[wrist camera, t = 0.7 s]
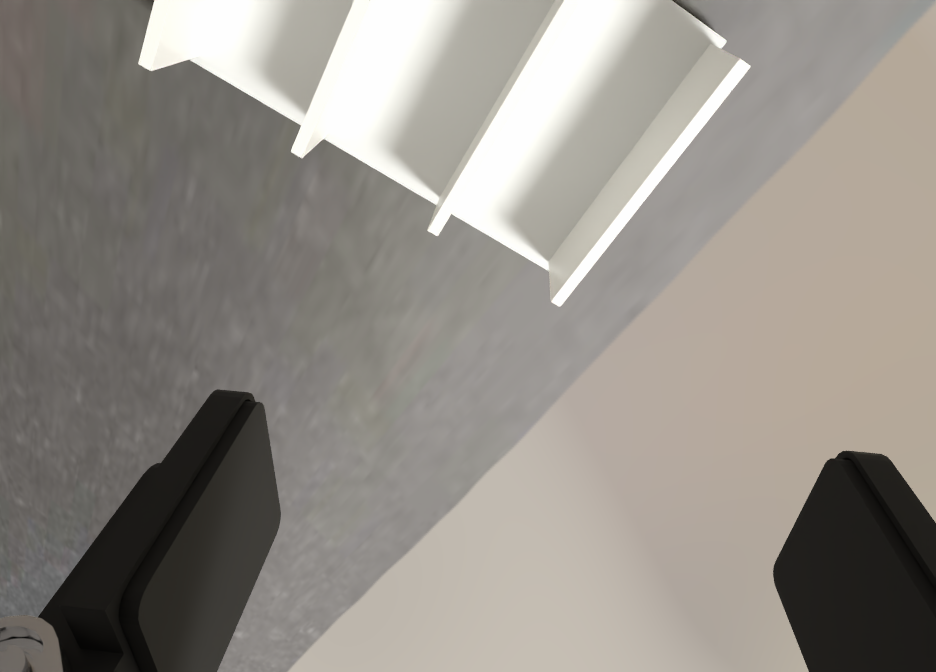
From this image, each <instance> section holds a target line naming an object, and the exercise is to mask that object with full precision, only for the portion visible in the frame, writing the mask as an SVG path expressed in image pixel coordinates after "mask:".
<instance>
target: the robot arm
mask: <svg viewBox="0 0 936 672" xmlns="http://www.w3.org/2000/svg"><path fill="white" fill-rule="evenodd" d="M280 517H281V511H280V504H279V498H278V491H277V485H276V478H275V472H274V466H273V459H272V453H271V447H270V440H269V434H268V428H267V421H266V415H265V409H264V405H263V404H262V403H260V402H255V400H254V397H253V395H252V394H251V393H248V392H238V391H227V390H215V391H214V392H213V393H212V394H211V395H210V396H209V397H208V399H207V400H206V402H205V403H204V404H203V406H202V407H201V408H200V410H199V411H198V413H197V414H196V415H195V417H194V418H193V420H192V421H191V422H190V424H189V425H188V426H187V428H186V429H185V431H184V432H183V433H182V435H181V436H180V438H179V439H178V440H177V442H176V443H175V444H174V446H173V447H172V449H171V450H170V451H169V453H168V454H167V456H166V457H165V458H164V460H163V461H162V463H157V464H155V465H153V466H151V467H150V468H149V469H148V470H147V471H146V472H145V473H144V474H143V476H142V477H141V478H140V480H139V481H138V483H137V484H136V485H135V487H134V488H133V489H132V491H131V492H130V493H129V495H128V496H127V497H126V499H125V500H124V501H123V503H122V504H121V505H120V507H119V508H118V510H117V511H116V512H115V514H114V515H113V516H112V518H111V519H110V520H109V522H108V523H107V524H106V526H105V527H104V528H103V530H102V531H101V533H100V534H99V535H98V537H97V538H96V539H95V541H94V542H93V543H92V545H91V546H90V547H89V549H88V550H87V551H86V553H85V554H84V556H83V557H82V558H81V560H80V561H79V562H78V564H77V565H76V566H75V568H74V569H73V570H72V572H71V573H70V574H69V576H68V577H67V579H66V580H65V581H64V583H63V584H62V585H61V587H60V588H59V589H58V591H57V592H56V593H55V595H54V596H53V597H52V599H51V600H50V602H49V603H48V604H47V606H46V607H45V608H44V610H43V611H42V612H41V614H40V615H39V616H38V617H33V616H28V615H19V616H9V617H4V618H1V619H0V672H217V670H218V668H219V666H220V663H221V661H222V659H223V656H224V654H225V652H226V649H227V647H228V645H229V643H230V640H231V638H232V636H233V633H234V631H235V629H236V626H237V624H238V622H239V619H240V617H241V615H242V613H243V610H244V608H245V606H246V603H247V601H248V599H249V596H250V594H251V592H252V589H253V587H254V585H255V583H256V580H257V578H258V576H259V573H260V571H261V569H262V566H263V564H264V562H265V559H266V557H267V555H268V553H269V550H270V548H271V546H272V543H273V541H274V539H275V536H276V534H277V531H278V528H279V524H280ZM773 576H774V583H775V586H776V589H777V591H778V594H779V596H780V599H781V601H782V604H783V607H784V609H785V612H786V614H787V617H788V619H789V622H790V624H791V627H792V630H793V632H794V635H795V637H796V639H797V642H798V645H799V647H800V650H801V652H802V655H803V658H804V660H805V663H806V665H807V668H808V670H809V672H936V523H935V521H934V520H933V519H932V517H931V516H930V514H929V513H928V512H927V510H926V509H925V507H924V506H923V505H922V503H921V502H920V501H919V499H918V498H917V496H916V495H915V494H914V492H913V491H912V489H911V488H910V487H909V485H908V484H907V482H906V481H905V480H904V478H903V477H902V475H901V474H900V473H899V471H898V470H897V469H896V467H895V466H894V464H893V463H892V462H891V460H890V459H889V458H888V457H886V456H884V455H882V454H875V453H865V452H854V451H842V452H841V453H839V454H838V456H837V457H836V458H835V459H830V460H828V461H827V462H826V463H825V465H824V467H823V469H822V471H821V473H820V475H819V477H818V479H817V481H816V483H815V485H814V487H813V489H812V491H811V493H810V495H809V497H808V499H807V501H806V503H805V504H804V507H803V508H802V511H801V512H800V514H799V516H798V518H797V520H796V522H795V524H794V527H793V528H792V530H791V532H790V534H789V536H788V538H787V540H786V542H785V544H784V546H783V548H782V550H781V552H780V554H779V556H778V558H777V560H776V562H775V565H774V570H773Z"/></svg>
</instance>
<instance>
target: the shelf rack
mask: <svg viewBox="0 0 936 672" xmlns="http://www.w3.org/2000/svg"><path fill="white" fill-rule="evenodd" d="M726 42H727V41H726V40H725V39H724V38H722V37H721V36H720V35H718V34H717V33H715V32H714V31H713V30H711V29H710V28H709V27H707V26H706V25H705V24H703V23H702V22H701V21H699V20H698V19H696V18H695V17H694V16H692V15H691V14H690V13H688V12H687V11H686V10H684V9H683V8H682V7H680V6H679V5H677V4H676V3H675V2H673V1H672V0H154V4H153V8H152V12H151V16H150V20H149V24H148V28H147V32H146V36H145V40H144V44H143V48H142V52H141V55H140V59H139V63H138V64H139V65H141V66H143V67H145V68H146V69H148V70H150V71H153V70H156V69H160V68H163V67H166V66H169V65H172V64H176V63H179V62H182V61H185V60H188V59H189V60H191V61H193V62H194V63H196V64H198V65H199V66H201V67H203V68H204V69H206V70H208V71H210V72H211V73H213V74H215V75H216V76H218V77H220V78H221V79H223V80H225V81H227V82H228V83H230V84H232V85H233V86H235V87H237V88H238V89H240V90H242V91H244V92H245V93H247V94H249V95H250V96H252V97H254V98H255V99H257V100H259V101H261V102H262V103H264V104H266V105H267V106H269V107H271V108H272V109H274V110H276V111H278V112H279V113H281V114H283V115H284V116H286V117H288V118H289V119H291V120H293V121H295V122H296V123H298V124H300V125H301V128H300V130H299V133H298V135H297V138H296V140H295V142H294V145H293V147H292V149H291V152H292V153H294V154H296V155H297V156H299V157H301V158H303V157H304V156H305V155H306V154H307V153H308V152H309V151H310V150H312V149H313V148H314V147H315V146H316V145H317V144H318V143H319V142H320V141H322V140H323V139H325V140H327V141H329V142H330V143H332V144H334V145H335V146H337V147H339V148H340V149H342V150H344V151H345V152H347V153H349V154H351V155H352V156H354V157H356V158H357V159H359V160H361V161H362V162H364V163H366V164H368V165H369V166H371V167H373V168H374V169H376V170H378V171H379V172H381V173H383V174H385V175H386V176H388V177H390V178H391V179H393V180H395V181H396V182H398V183H400V184H402V185H403V186H405V187H407V188H408V189H410V190H412V191H413V192H415V193H417V194H419V195H420V196H422V197H424V198H425V199H427V200H429V201H430V202H432V203H434V204H436V208H435V211H434V214H433V216H432V219H431V222H430V225H429V227H428V230H427V231H429V232H431V233H433V234H434V235H436V236H438V235H439V233H440V232H441V230H442V228H443V227H444V225H445V223H446V222H447V220H448V218H449V217H450V215H451V214H453V215H454V216H456V217H458V218H459V219H461V220H463V221H464V222H466V223H468V224H470V225H471V226H473V227H475V228H476V229H478V230H480V231H481V232H483V233H485V234H487V235H488V236H490V237H492V238H493V239H495V240H497V241H498V242H500V243H502V244H504V245H505V246H507V247H509V248H510V249H512V250H514V251H515V252H517V253H519V254H521V255H522V256H524V257H526V258H527V259H529V260H531V261H532V262H534V263H536V264H538V265H539V266H541V267H543V268H544V269H546V270H548V271H549V280H550V296H551V302H552V303H554V304H556V305H558V306H559V307H560V306H561V305H562V304H563V303H564V301H565V300H566V299H567V298H568V296H569V295H570V294H571V293H572V291H573V290H574V289H575V288H576V286H577V285H578V284H579V283H580V281H581V280H582V279H583V277H584V276H585V275H586V274H587V272H588V271H589V270H590V269H591V267H592V266H593V265H594V264H595V262H596V261H597V260H598V259H599V257H600V256H601V255H602V254H603V252H604V251H605V250H606V248H607V247H608V246H609V245H610V243H611V242H612V241H613V240H614V238H615V237H616V236H617V235H618V233H619V232H620V231H621V230H622V228H623V227H624V226H625V225H626V223H627V222H628V221H629V219H630V218H631V217H632V216H633V214H634V213H635V212H636V211H637V209H638V208H639V207H640V206H641V204H642V203H643V202H644V201H645V199H646V198H647V197H648V196H649V194H650V193H651V192H652V190H653V189H654V188H655V187H656V185H657V184H658V183H659V182H660V180H661V179H662V178H663V177H664V175H665V174H666V173H667V172H668V170H669V169H670V168H671V167H672V165H673V164H674V163H675V161H676V160H677V159H678V158H679V156H680V155H681V154H682V153H683V151H684V150H685V149H686V148H687V146H688V145H689V144H690V143H691V141H692V140H693V139H694V138H695V136H696V135H697V134H698V132H699V131H700V130H701V129H702V127H703V126H704V125H705V124H706V122H707V121H708V120H709V119H710V117H711V116H712V115H713V114H714V112H715V111H716V110H717V109H718V107H719V106H720V105H721V103H722V102H723V101H724V100H725V98H726V97H727V96H728V95H729V93H730V92H731V91H732V90H733V88H734V87H735V86H736V85H737V83H738V82H739V81H740V79H741V78H742V77H743V76H744V74H745V73H746V72H747V71H748V69H749V68H750V67H751V66H750V65H748V64H747V63H746V62H744V61H743V60H741V59H740V58H738V57H736V56H734V55H732V54H730V53H728V52H726V51H724V50H722V49H721V48H722V47H723V46H724V44H725V43H726Z"/></svg>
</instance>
